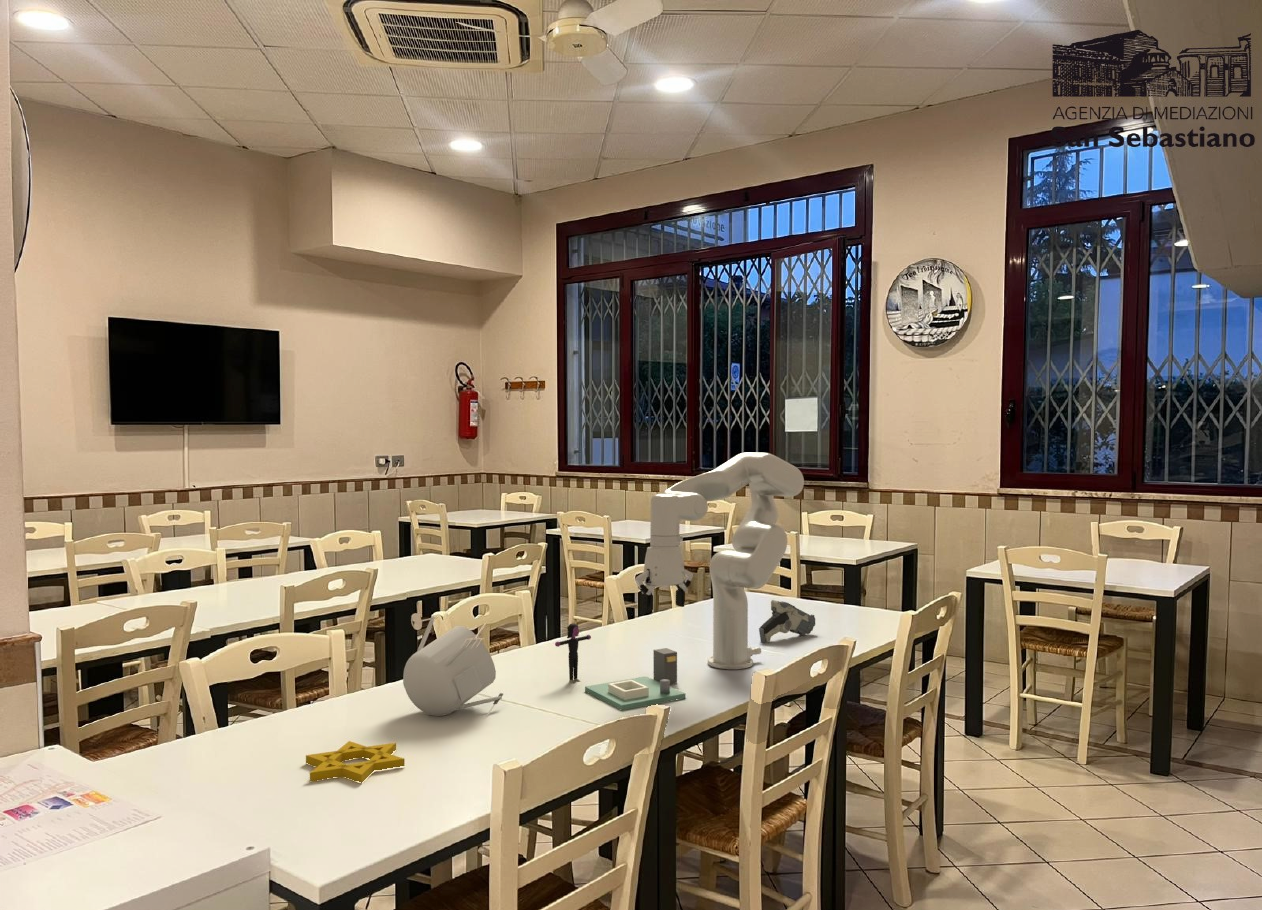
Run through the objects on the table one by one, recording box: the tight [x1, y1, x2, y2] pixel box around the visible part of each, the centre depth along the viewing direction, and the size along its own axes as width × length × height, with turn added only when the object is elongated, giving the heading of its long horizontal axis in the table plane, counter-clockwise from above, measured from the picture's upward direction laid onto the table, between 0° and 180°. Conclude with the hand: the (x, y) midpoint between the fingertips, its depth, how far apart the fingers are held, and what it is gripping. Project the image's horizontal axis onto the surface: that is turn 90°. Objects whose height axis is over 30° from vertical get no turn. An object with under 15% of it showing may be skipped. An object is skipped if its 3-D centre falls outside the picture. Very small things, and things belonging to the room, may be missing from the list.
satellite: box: [402, 612, 504, 717], centre depth 209 cm, size 23×20×25 cm
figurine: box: [554, 622, 592, 684], centre depth 235 cm, size 12×4×15 cm, turn 136°
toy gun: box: [758, 599, 816, 644], centre depth 283 cm, size 4×21×15 cm, turn 124°
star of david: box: [305, 740, 406, 783], centre depth 176 cm, size 20×17×2 cm
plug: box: [652, 647, 678, 685], centre depth 234 cm, size 4×6×8 cm
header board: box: [584, 676, 686, 711], centre depth 223 cm, size 18×18×4 cm
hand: (664, 607), depth 234 cm, fingers open, 9 cm apart
